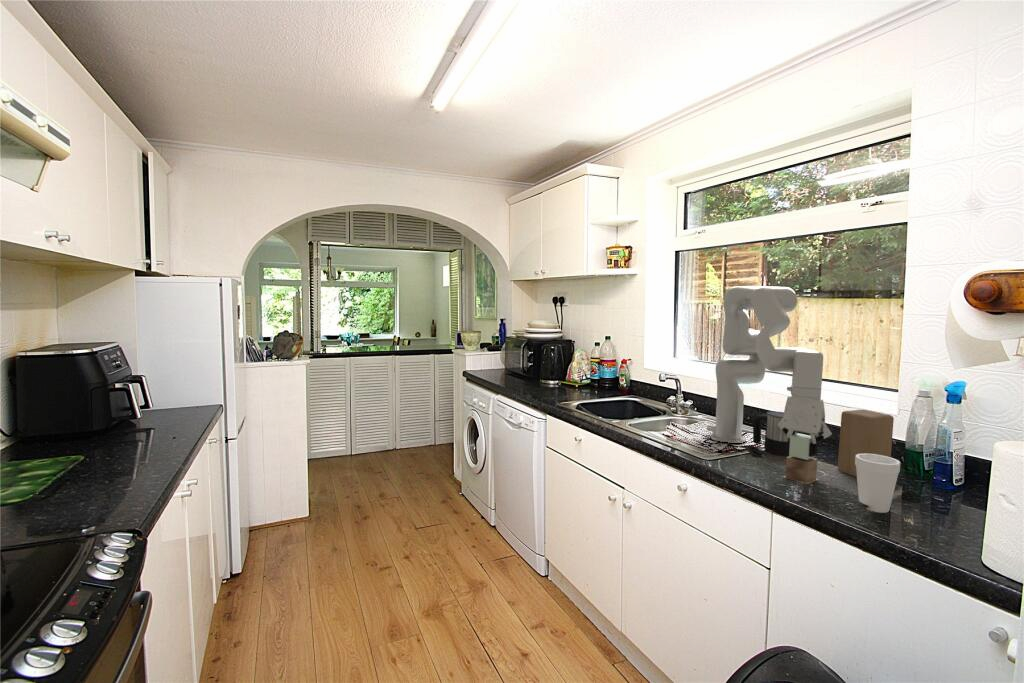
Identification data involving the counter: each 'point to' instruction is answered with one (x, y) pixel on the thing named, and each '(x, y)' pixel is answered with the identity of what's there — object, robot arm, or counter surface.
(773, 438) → the milk frother
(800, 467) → the walnut block
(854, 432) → the block
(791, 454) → the sage block
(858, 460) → the foam cup
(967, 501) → the counter surface
